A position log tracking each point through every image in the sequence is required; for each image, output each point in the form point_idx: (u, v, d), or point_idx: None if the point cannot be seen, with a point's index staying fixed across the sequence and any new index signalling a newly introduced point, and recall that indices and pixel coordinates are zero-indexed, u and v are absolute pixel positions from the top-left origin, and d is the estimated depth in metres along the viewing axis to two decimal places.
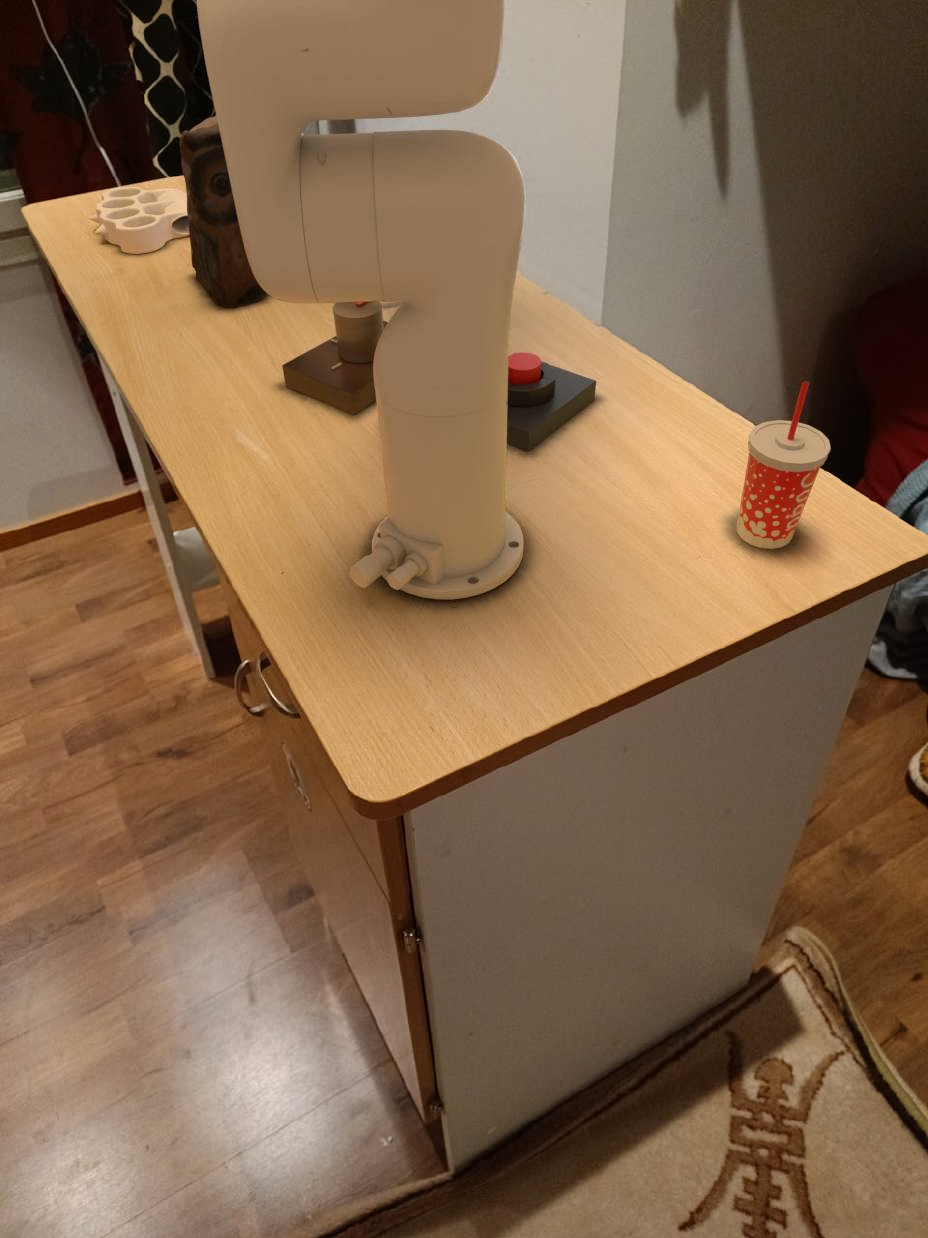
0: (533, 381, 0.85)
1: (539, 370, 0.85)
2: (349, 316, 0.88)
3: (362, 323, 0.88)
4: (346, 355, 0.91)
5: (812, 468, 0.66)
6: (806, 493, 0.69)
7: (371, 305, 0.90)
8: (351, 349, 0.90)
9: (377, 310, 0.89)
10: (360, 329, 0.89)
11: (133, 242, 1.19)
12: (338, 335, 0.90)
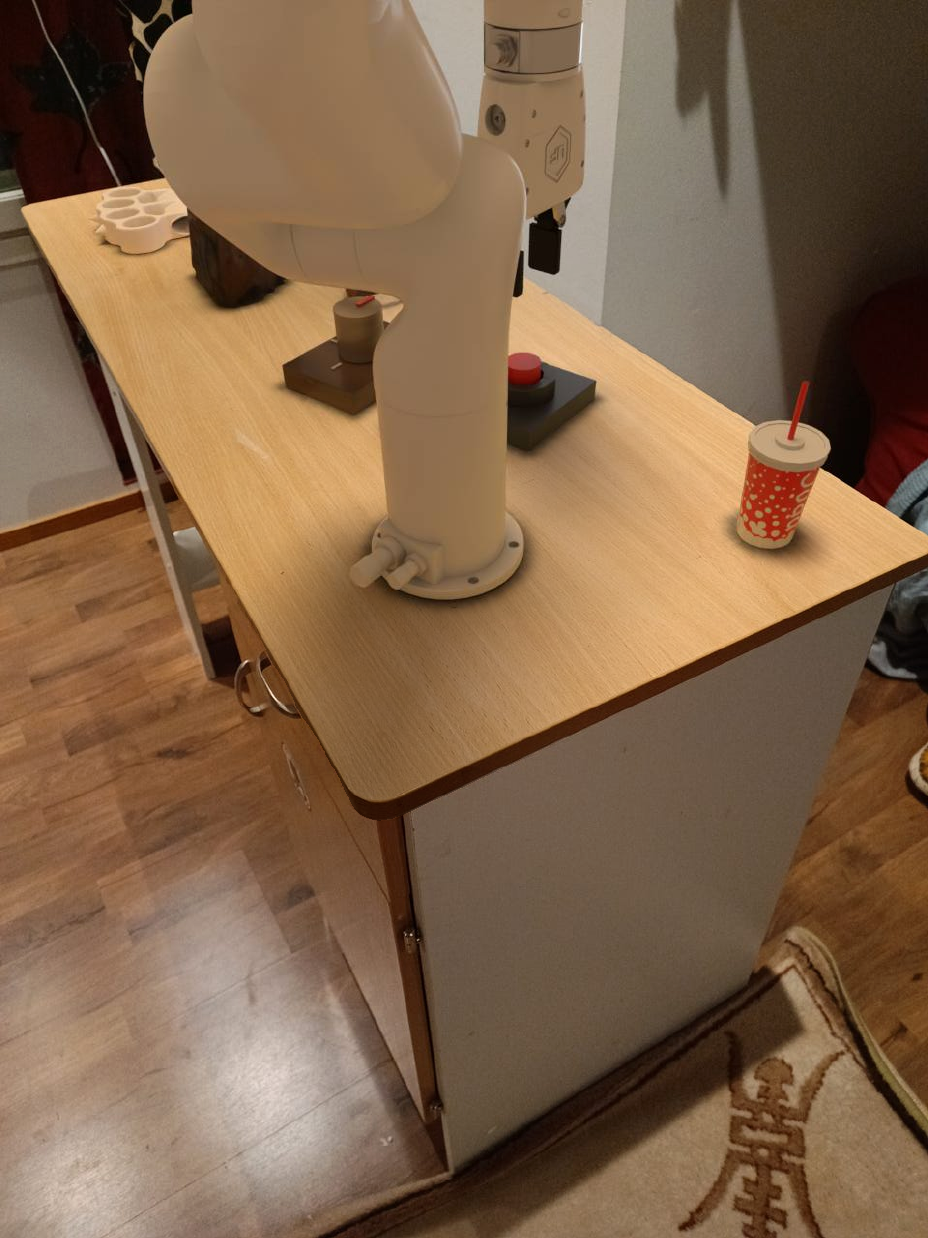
0: (533, 381, 0.85)
1: (539, 370, 0.85)
2: (349, 316, 0.88)
3: (362, 323, 0.88)
4: (346, 355, 0.91)
5: (812, 468, 0.66)
6: (806, 493, 0.69)
7: (371, 305, 0.90)
8: (351, 349, 0.90)
9: (377, 310, 0.89)
10: (360, 329, 0.89)
11: (133, 242, 1.19)
12: (338, 335, 0.90)
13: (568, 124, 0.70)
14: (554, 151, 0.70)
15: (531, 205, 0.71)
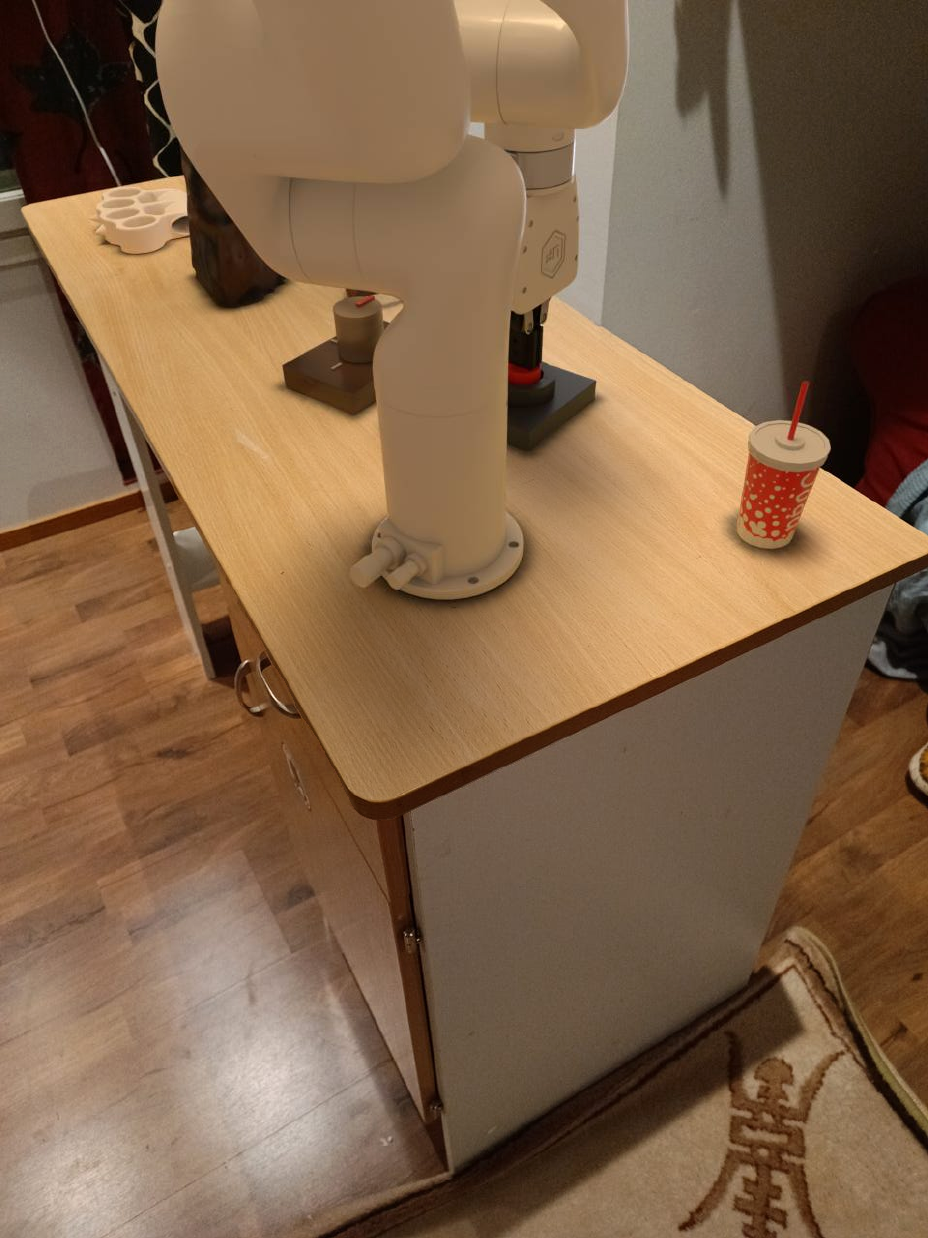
0: None
1: (539, 373, 0.85)
2: (349, 316, 0.88)
3: (362, 323, 0.88)
4: (346, 355, 0.91)
5: (812, 468, 0.66)
6: (806, 493, 0.69)
7: (371, 305, 0.90)
8: (351, 349, 0.90)
9: (377, 310, 0.89)
10: (360, 329, 0.89)
11: (133, 242, 1.19)
12: (338, 335, 0.90)
13: (562, 227, 0.76)
14: (549, 252, 0.76)
15: (528, 301, 0.77)
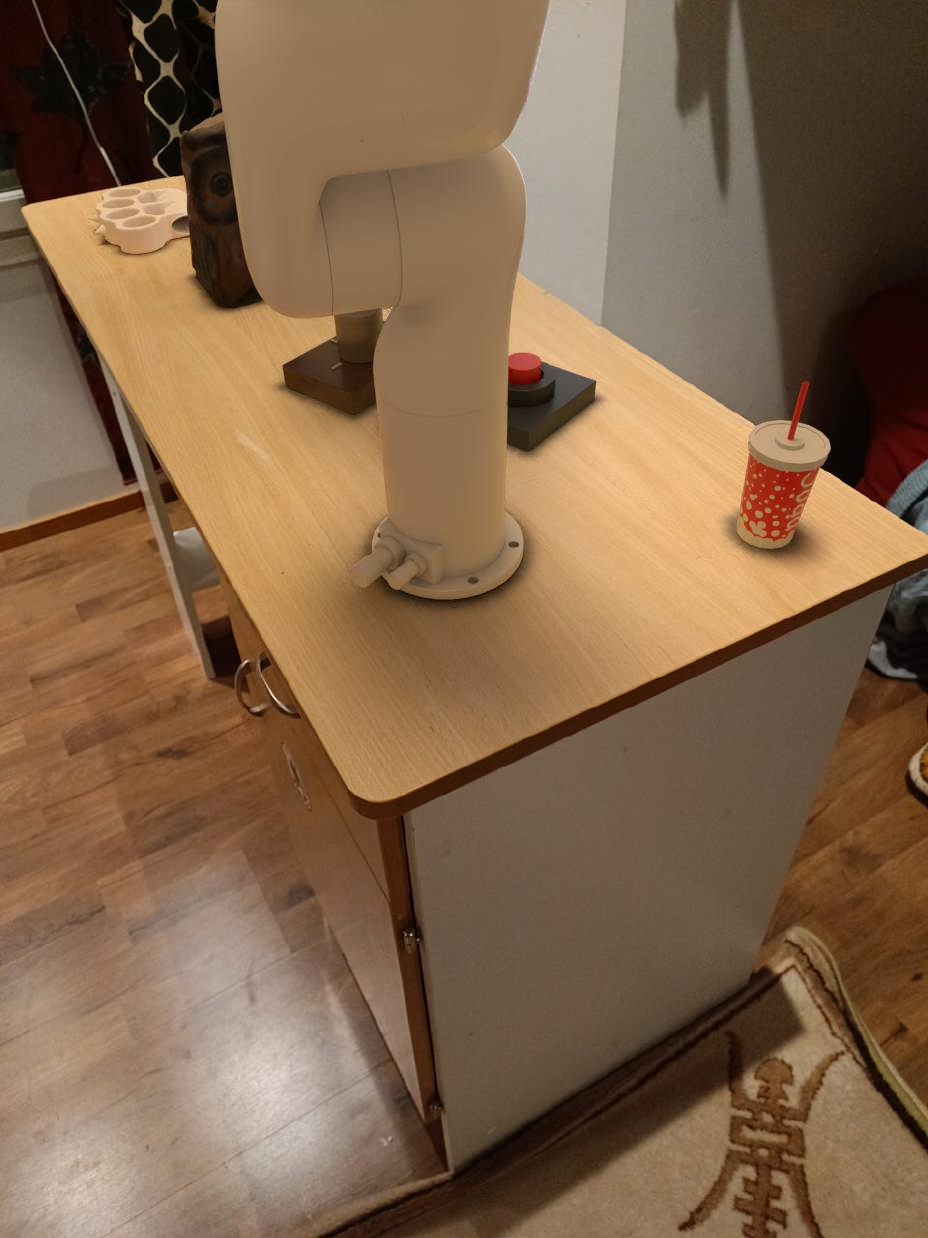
0: (533, 381, 0.85)
1: (539, 370, 0.85)
2: (349, 316, 0.88)
3: (362, 323, 0.88)
4: (346, 355, 0.91)
5: (812, 468, 0.66)
6: (806, 493, 0.69)
7: None
8: (351, 349, 0.90)
9: (377, 310, 0.89)
10: (360, 329, 0.89)
11: (133, 242, 1.19)
12: (338, 335, 0.90)
13: None
14: None
15: None
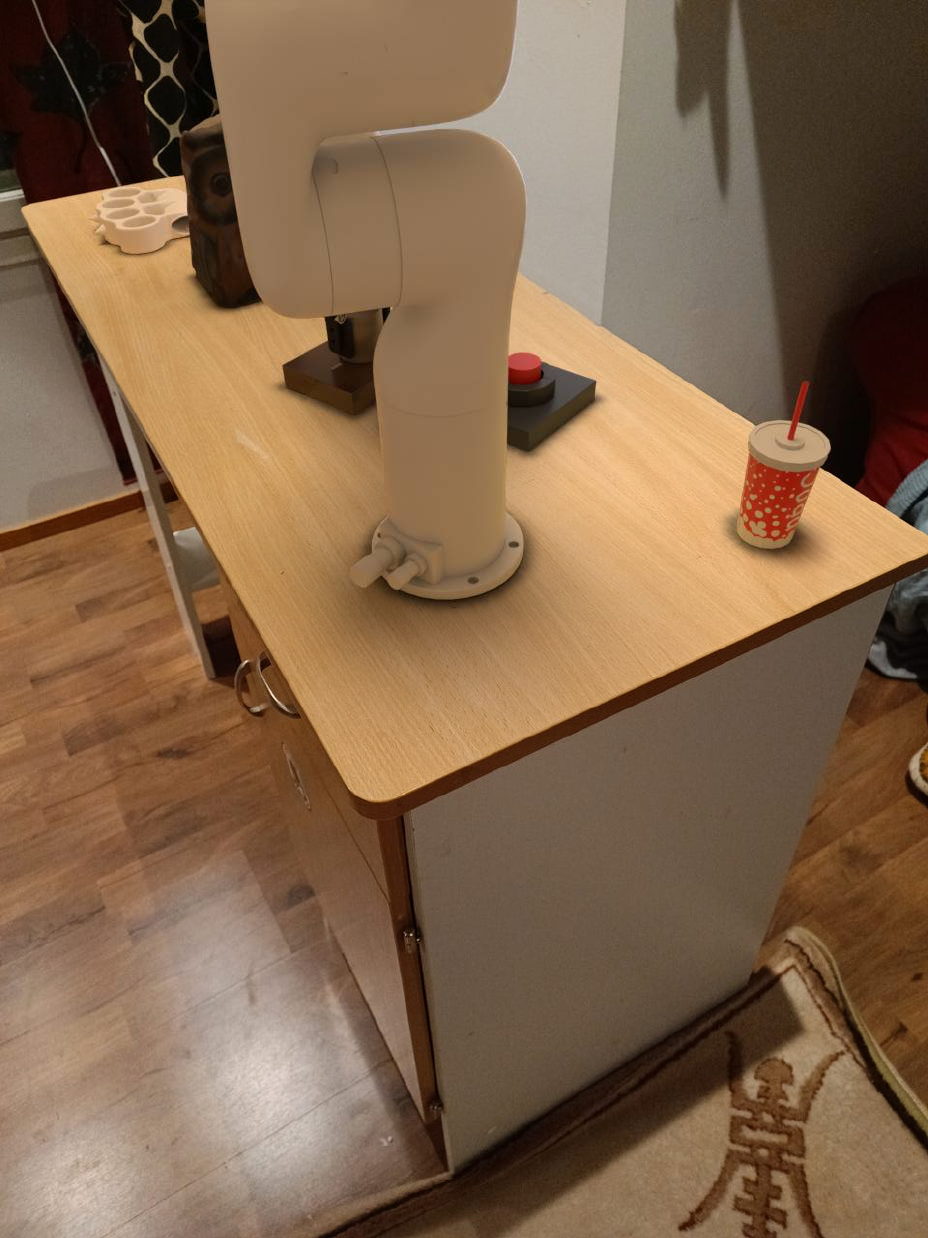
0: (533, 381, 0.85)
1: (539, 370, 0.85)
2: (349, 316, 0.88)
3: (362, 323, 0.88)
4: None
5: (812, 468, 0.66)
6: (806, 493, 0.69)
7: None
8: None
9: (377, 310, 0.89)
10: (360, 329, 0.89)
11: (133, 242, 1.19)
12: None
13: None
14: None
15: None
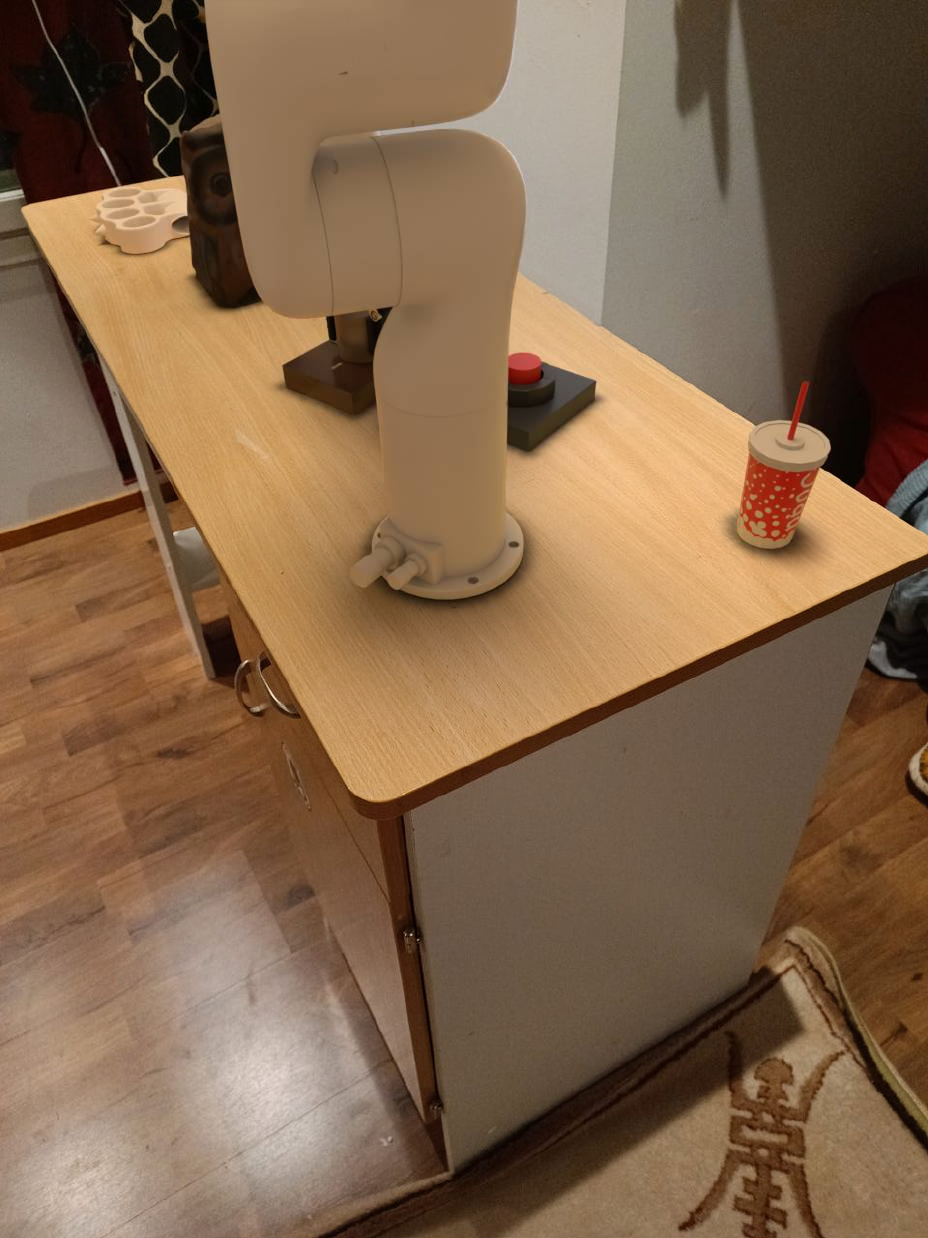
0: (533, 381, 0.85)
1: (539, 370, 0.85)
2: None
3: None
4: None
5: (812, 468, 0.66)
6: (806, 493, 0.69)
7: None
8: None
9: None
10: None
11: (133, 242, 1.19)
12: None
13: None
14: None
15: None
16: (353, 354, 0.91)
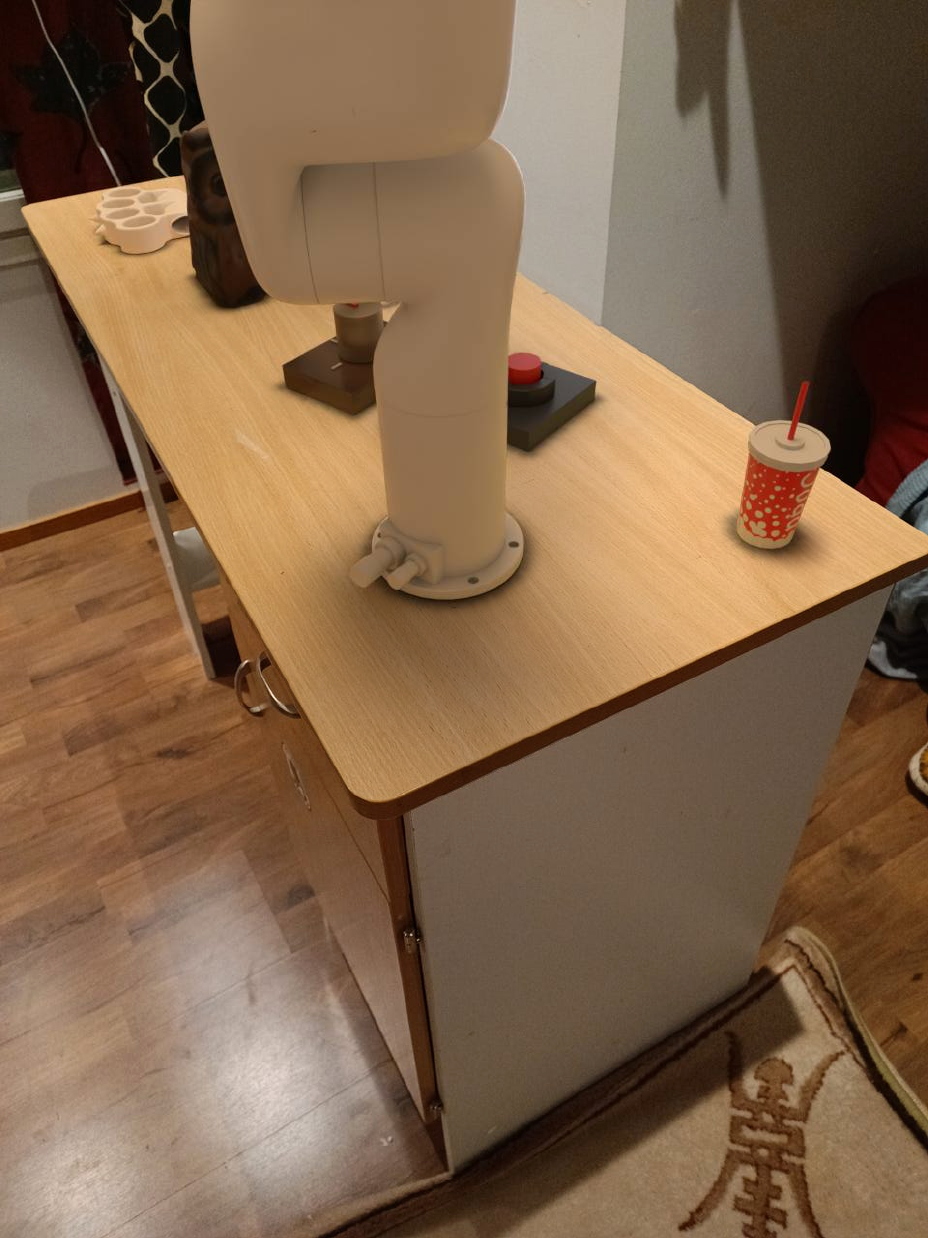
0: (533, 381, 0.85)
1: (539, 370, 0.85)
2: (378, 308, 0.89)
3: None
4: None
5: (812, 468, 0.66)
6: (806, 493, 0.69)
7: None
8: None
9: None
10: (382, 316, 0.91)
11: (133, 242, 1.19)
12: (371, 338, 0.90)
13: None
14: None
15: None
16: (353, 354, 0.91)
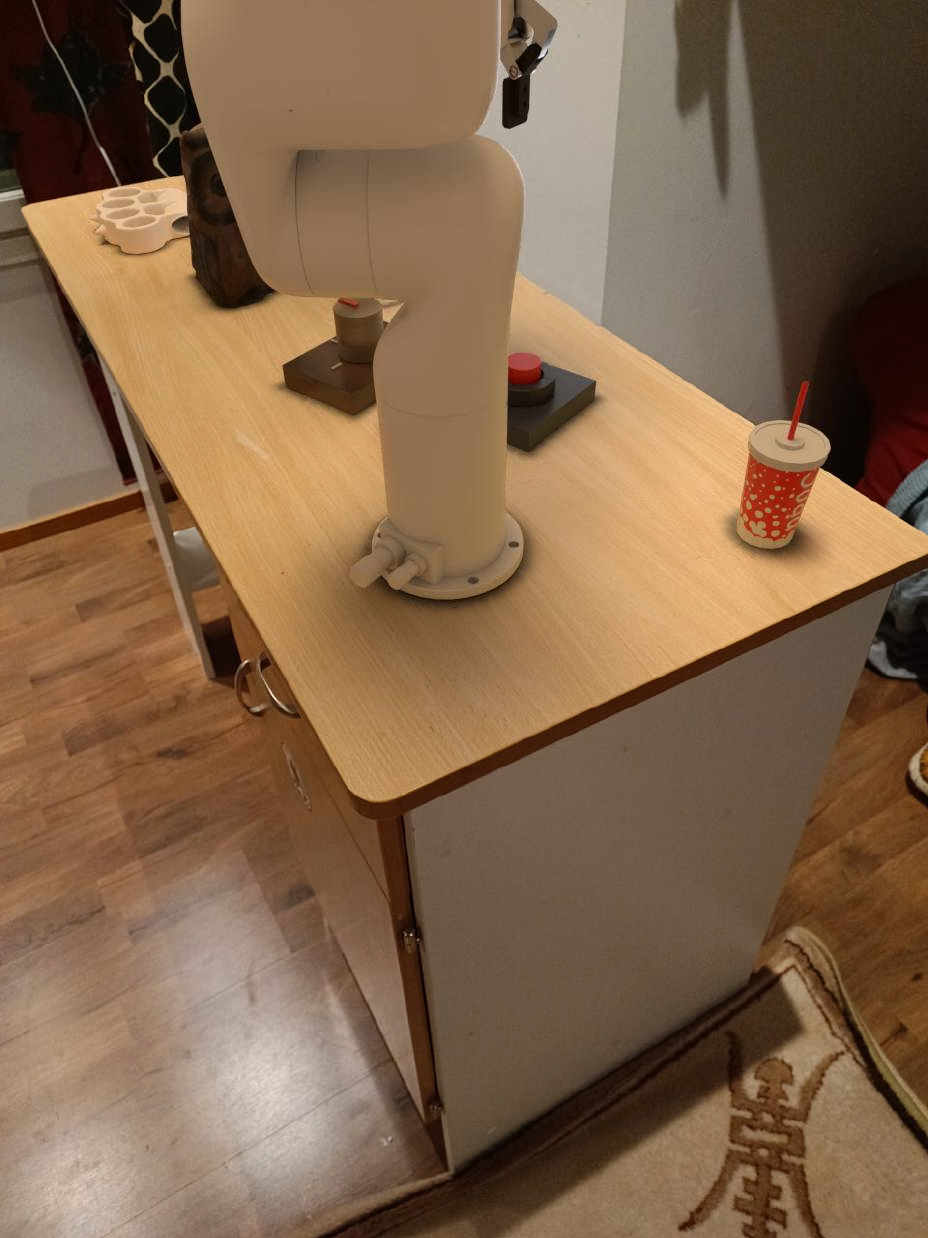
0: (533, 381, 0.85)
1: (539, 370, 0.85)
2: (378, 308, 0.89)
3: None
4: None
5: (812, 468, 0.66)
6: (806, 493, 0.69)
7: (356, 300, 0.91)
8: None
9: None
10: (382, 316, 0.91)
11: (133, 242, 1.19)
12: (371, 338, 0.90)
13: None
14: None
15: None
16: (353, 354, 0.91)
